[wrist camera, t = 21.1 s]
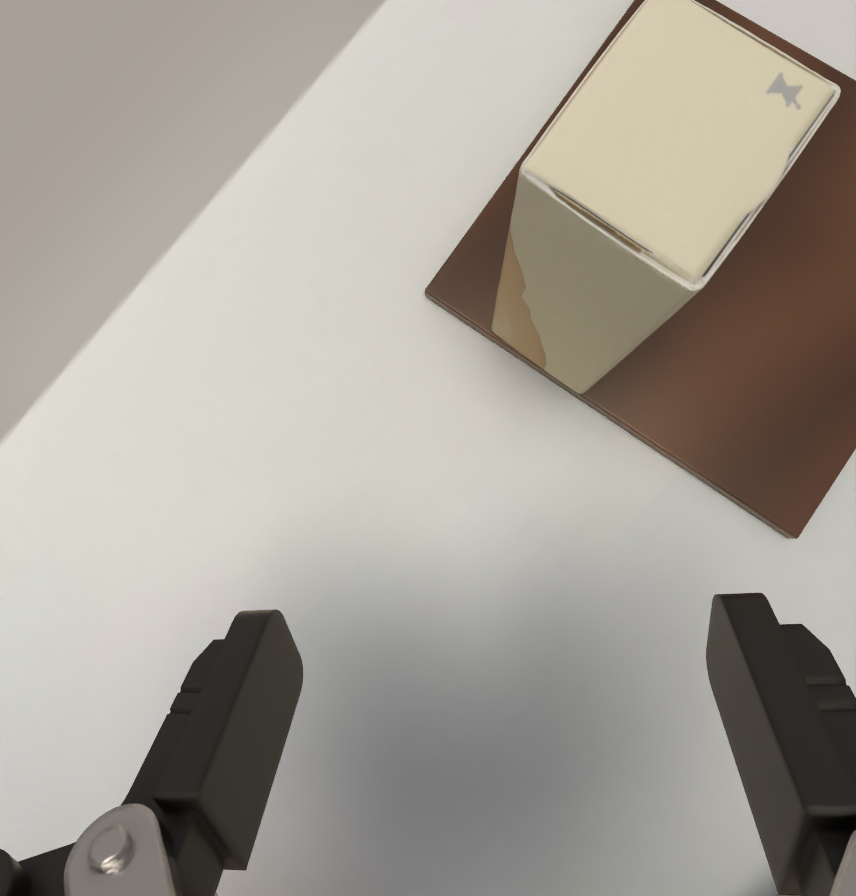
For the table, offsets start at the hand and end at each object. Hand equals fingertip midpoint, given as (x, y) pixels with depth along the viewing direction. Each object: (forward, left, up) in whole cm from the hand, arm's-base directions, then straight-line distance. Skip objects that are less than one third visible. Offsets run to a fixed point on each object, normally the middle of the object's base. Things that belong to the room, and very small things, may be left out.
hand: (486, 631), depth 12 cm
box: (-2, +10, -10) cm, 15 cm away
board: (+1, +16, -11) cm, 19 cm away
